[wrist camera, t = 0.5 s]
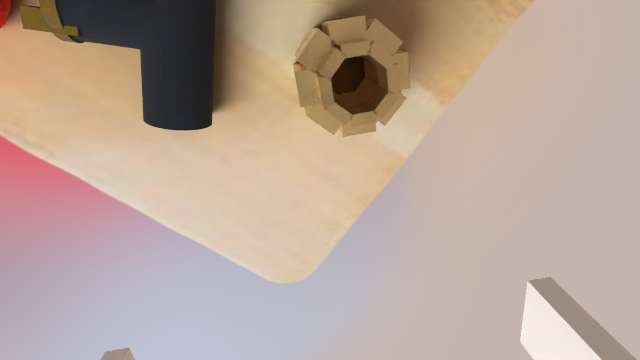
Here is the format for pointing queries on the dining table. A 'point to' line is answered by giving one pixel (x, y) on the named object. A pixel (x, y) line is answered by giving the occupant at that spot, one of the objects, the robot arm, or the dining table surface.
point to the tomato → (4, 11)
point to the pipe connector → (147, 48)
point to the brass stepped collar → (374, 91)
